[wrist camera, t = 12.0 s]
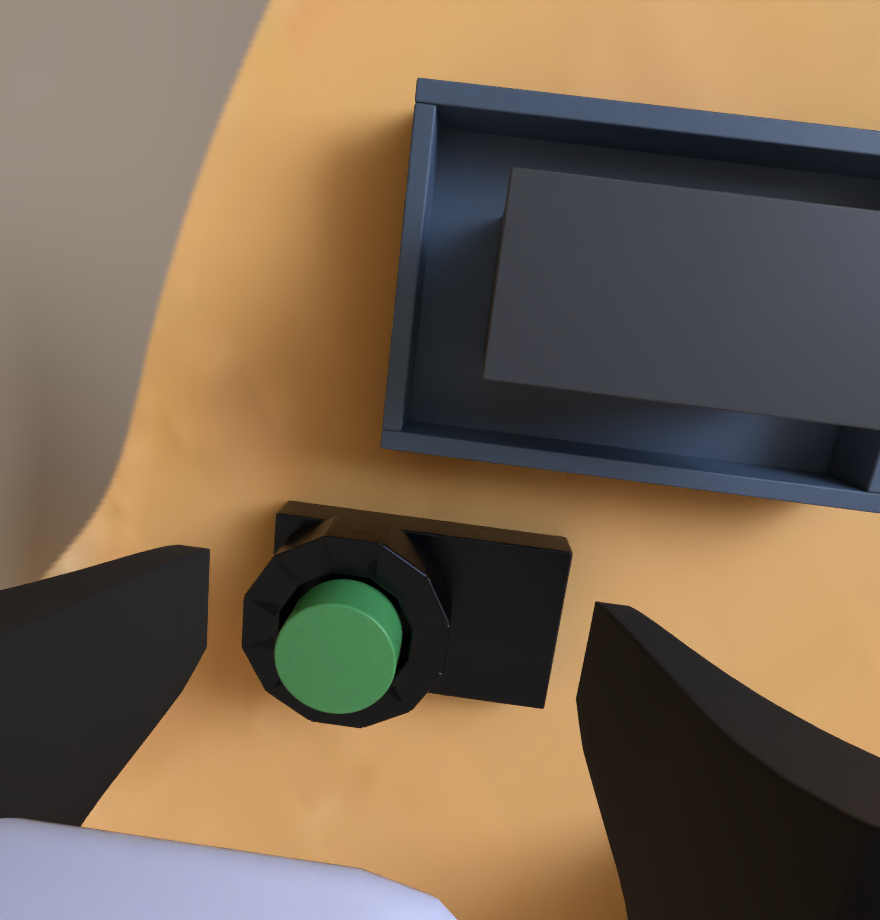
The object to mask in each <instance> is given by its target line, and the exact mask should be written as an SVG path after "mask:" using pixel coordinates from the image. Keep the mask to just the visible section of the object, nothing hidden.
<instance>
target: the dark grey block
mask: <svg viewBox="0 0 880 920" xmlns="http://www.w3.org/2000/svg"><path fill="white" fill-rule="evenodd" d="M483 358H484V362H483V369H482V378H483V379H484V380H490V381H498V382H506V383H514V384H522V385H530V386H537V387H545V388H553V389H561V390H569V391H576V392H584V393H592V394H600V395H608V396H616V397H623V398H631V399H639V400H647V401H655V402H662V403H670V404H678V405H686V406H694V407H702V408H709V409H717V410H725V411H733V412H741V413H748V414H756V415H764V416H772V417H780V418H788V419H795V420H803V421H811V422H819V423H827V424H834V425H842V426H850V427H858V428H866V429H873V430H880V211H877V210H868V209H860V208H852V207H843V206H835V205H827V204H818V203H810V202H802V201H793V200H785V199H776V198H768V197H760V196H751V195H743V194H735V193H726V192H718V191H710V190H701V189H693V188H685V187H676V186H668V185H659V184H651V183H643V182H634V181H626V180H618V179H609V178H601V177H593V176H584V175H576V174H567V173H559V172H551V171H542V170H534V169H526V168H517V167H512V168H511V171H510V175H509V180H508V187H507V195H506V202H505V209H504V213H503V216H502V222H501V229H500V237H499V244H498V251H497V258H496V266H495V273H494V280H493V288H492V295H491V302H490V309H489V317H488V324H487V331H486V339H485V346H484V353H483Z"/></svg>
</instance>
